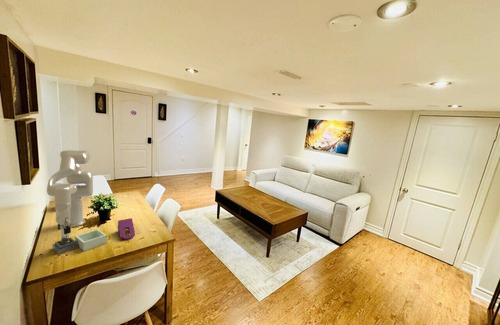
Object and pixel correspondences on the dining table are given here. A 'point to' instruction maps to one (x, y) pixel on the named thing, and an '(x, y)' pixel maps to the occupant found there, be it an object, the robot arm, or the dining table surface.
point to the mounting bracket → (126, 225)
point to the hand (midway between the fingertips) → (64, 231)
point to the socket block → (64, 246)
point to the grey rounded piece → (64, 236)
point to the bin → (91, 239)
